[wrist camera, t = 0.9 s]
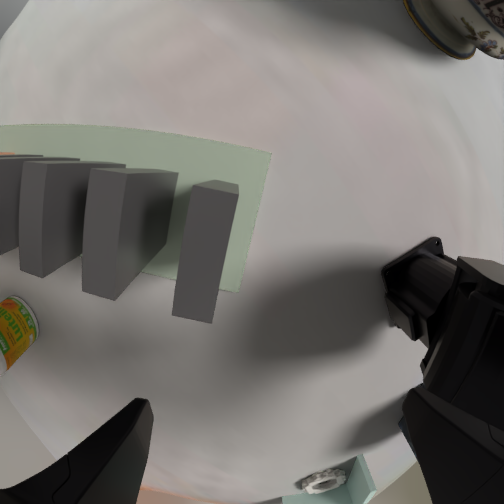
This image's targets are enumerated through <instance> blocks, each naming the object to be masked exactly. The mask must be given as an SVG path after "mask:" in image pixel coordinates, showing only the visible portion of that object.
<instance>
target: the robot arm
mask: <svg viewBox="0 0 504 504" xmlns="http://www.w3.org/2000/svg"><path fill="white" fill-rule="evenodd" d="M436 241H437V243H436ZM388 271H389V274H388V275H386V273H387V272H388ZM382 278H383V281H384V284H385V288H386V291H387V293H386V294H385V298H386V302H387V306H388V309H389V313H390V317H391V319H392V320H393V321H394V322H395V325H396V327H397V328H401V329H402V330H403V331H404V332H405V333H406V334H407V335H408V337H409V338H410V339H411V340H413V341H416V340H418V339H419V340H420V341H421V342H422V343H423V344H424V345H425V346H426V347H427V348H428V351H427V353H426V355H425V358H424V359H422V362H421V364H420V367H421V370H422V373H423V382H424V385H425V387H426V390H425V389H424V388H422V387H416V388H412V389H410V390H409V392H408V394H407V396H406V398H405V400H404V402H403V405H402V410H403V413H404V417H405V421H406V424H407V428H408V432H409V436H410V439H411V442H412V445H413V448H414V450H415V453H416V456H417V459H418V461H419V464H420V467H421V470H422V473H423V475H424V478H425V481H426V484H427V487H428V490H429V493H430V496H431V500H432V503H433V504H504V265H502V264H499V263H497V262H495V261H492V260H485V259H477V258H469V257H461V256H458V258H457V261H456V260H454V259H452V258H450V257H448V256H446V255H444V252H443V247H442V242H441V239H440V238H438V237H433V238H432V239H430V240H429V241H427V242H425V243H424V244H422V245H421V246H419V247H418V248H416V249H414V250H413V251H411V252H409V253H408V254H406V255H405V256H403V257H401V258H400V259H398V260H396V261H395V262H393V263H391V264H389V265H388V266H386V267H385V268H383V270H382ZM152 426H153V412H152V409H151V406H150V402H149V400H148V399H144V398H135V399H134V400H132V401H131V402H130V403H129V404H128V405H126V406H125V407H124V408H123V409H122V410H120V411H119V412H118V413H117V414H116V415H114V416H113V417H112V418H111V419H110V420H108V421H107V422H106V423H105V424H103V425H102V426H101V427H100V428H98V429H97V430H96V431H95V432H94V433H92V434H91V435H90V436H89V437H87V438H86V439H85V440H84V441H82V442H81V443H80V444H78V445H77V446H76V447H75V448H73V449H72V450H71V451H69V452H68V453H67V454H65V455H64V456H63V457H62V458H60V459H59V460H58V461H56V462H55V463H53V464H52V465H51V466H49V467H48V468H46V469H44V470H43V471H41V472H39V473H38V474H36V475H34V476H32V477H30V478H29V479H26V480H25V481H23V482H21V483H19V484H17V485H15V486H12V487H10V488H6V489H0V504H136V501H137V497H138V493H139V490H140V486H141V482H142V478H143V474H144V471H145V467H146V463H147V459H148V454H149V447H150V440H151V433H152Z"/></svg>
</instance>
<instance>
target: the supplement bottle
mask: <svg viewBox="0 0 504 504" xmlns="http://www.w3.org/2000/svg"><path fill="white" fill-rule="evenodd" d="M38 333H39V328H38V323H37V320H36V317H35V315H34V313H33V311H32V310H31V308H30V307H29V306H28V305H27V304H26V303H25V302H24V301H23V300H22V299H20V298H19V297H16V296H10V297H8V298H7V299H5V300H4V301H2V302H1V303H0V376H2V375H3V374H4V373H5V372H6V371H7V370H8V369H9V368H10V367H11V366H12V365H13V364H14V363H15V362H16V360H17V359H18V358H19V357H20V356H21V355H22V354H23V353H24V352H25V351H26V350H27V349H28V348H29V347H30V346H31V345H32V344H33V343H34V341H35V340H36V339H37V337H38Z"/></svg>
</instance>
